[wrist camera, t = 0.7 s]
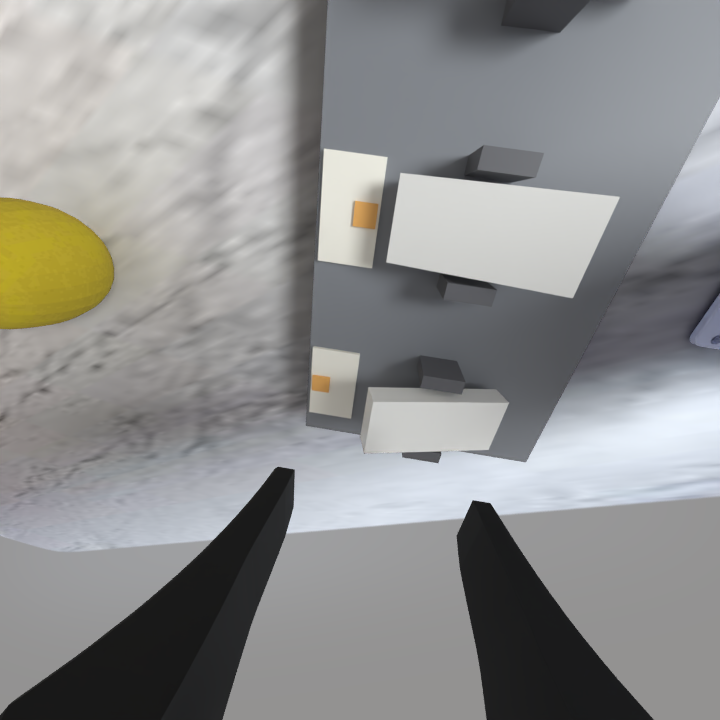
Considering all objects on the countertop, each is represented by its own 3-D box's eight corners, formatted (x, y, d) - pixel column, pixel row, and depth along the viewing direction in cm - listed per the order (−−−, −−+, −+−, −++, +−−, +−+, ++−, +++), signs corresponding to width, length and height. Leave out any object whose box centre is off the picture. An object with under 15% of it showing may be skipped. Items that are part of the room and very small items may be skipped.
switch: (496, 389, 16) (509, 402, 15) (477, 434, 17) (488, 449, 16) (368, 387, 15) (373, 401, 14) (360, 436, 16) (363, 453, 15)
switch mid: (606, 199, 10) (620, 196, 9) (564, 291, 12) (572, 298, 11) (407, 176, 12) (400, 172, 11) (393, 259, 13) (386, 262, 12)
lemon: (136, 316, 19) (-17, 381, 12) (48, 265, 18) (-176, 302, 11) (159, 240, 17) (-13, 264, 10) (60, 176, 16) (-215, 150, 9)
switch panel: (821, -196, 9) (1133, -490, 5) (514, 440, 20) (541, 492, 17) (354, -240, 9) (328, -539, 6) (313, 407, 21) (295, 450, 17)
